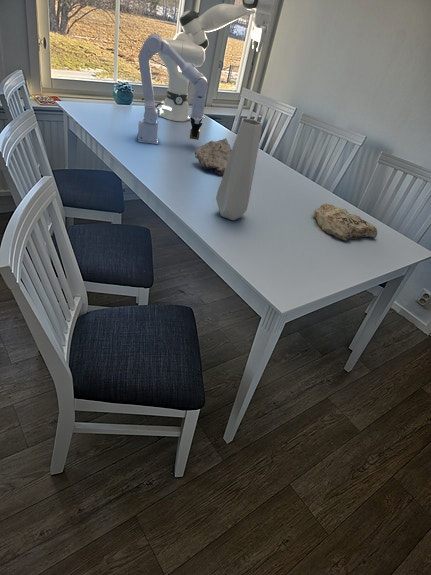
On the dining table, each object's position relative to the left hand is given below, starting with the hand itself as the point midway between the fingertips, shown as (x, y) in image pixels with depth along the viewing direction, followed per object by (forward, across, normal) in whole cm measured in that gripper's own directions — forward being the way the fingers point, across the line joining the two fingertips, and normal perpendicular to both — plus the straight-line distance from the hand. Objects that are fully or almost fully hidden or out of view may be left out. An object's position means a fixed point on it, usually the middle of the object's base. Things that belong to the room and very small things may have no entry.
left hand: (194, 135), depth 184 cm
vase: (+6, -68, -13) cm, 69 cm away
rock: (+6, -25, -9) cm, 27 cm away
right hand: (-35, +56, -32) cm, 73 cm away
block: (+1, 0, 0) cm, 1 cm away
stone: (+6, -65, -55) cm, 85 cm away
